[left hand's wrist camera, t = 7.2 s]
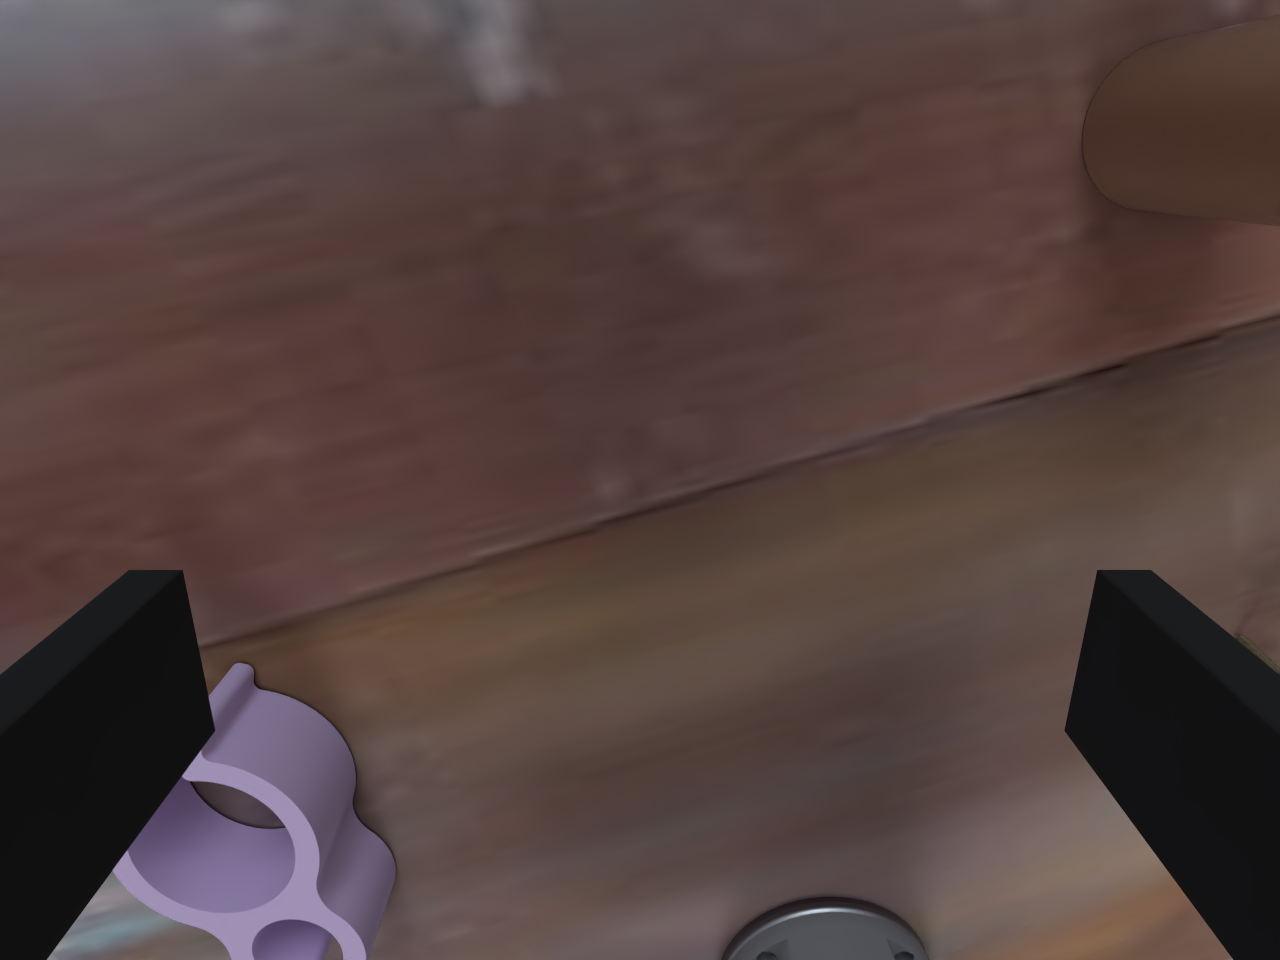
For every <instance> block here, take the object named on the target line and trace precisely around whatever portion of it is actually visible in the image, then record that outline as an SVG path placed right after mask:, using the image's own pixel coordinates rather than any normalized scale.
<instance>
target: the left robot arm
mask: <svg viewBox="0 0 1280 960" xmlns="http://www.w3.org/2000/svg"><path fill="white" fill-rule="evenodd" d="M214 732H215V726H214V721H213V716H212V711H211V706H210V702H209V697H208V692H207V687H206V682H205V677H204V672H203V667H202V662H201V658H200V653H199V648H198V643H197V638H196V633H195V628H194V623H193V619H192V614H191V609H190V604H189V599H188V594H187V589H186V584H185V580H184V575H183V570H129V571H127V572H126V573H125V574H124V575H123V576H121V577H120V578H119V579H118V580H116V581H115V582H114V583H113V584H111V585H110V586H109V587H108V588H107V589H105V590H104V591H103V592H102V593H100V594H99V595H98V596H97V597H95V598H94V599H93V600H92V601H91V602H89V603H88V604H87V605H86V606H84V607H83V608H82V609H81V610H79V611H78V612H77V613H76V614H75V615H73V616H72V617H71V618H70V619H68V620H67V621H66V622H65V623H63V624H62V625H61V626H60V627H59V628H57V629H56V630H55V631H54V632H52V633H51V634H50V635H49V636H47V637H46V638H45V639H44V640H43V641H41V642H40V643H39V644H38V645H36V646H35V647H34V648H33V649H31V650H30V651H29V652H28V653H27V654H25V655H24V656H23V657H22V658H20V659H19V660H18V661H17V662H15V663H14V664H13V665H12V666H10V667H9V668H8V669H7V670H6V671H4V672H3V673H2V674H1V675H0V960H47V958H48V957H49V956H50V954H51V953H52V952H53V950H54V949H55V948H56V946H57V945H58V943H59V942H60V941H61V939H62V938H63V937H64V935H65V934H66V933H67V931H68V930H69V929H70V927H71V926H72V924H73V923H74V922H75V920H76V919H77V918H78V916H79V915H80V914H81V912H82V911H83V910H84V908H85V907H86V905H87V904H88V903H89V901H90V900H91V899H92V897H93V896H94V895H95V893H96V892H97V891H98V889H99V888H100V887H101V885H102V884H103V882H104V881H105V880H106V878H107V877H108V876H109V874H110V873H111V872H112V870H113V869H114V868H115V866H116V865H117V863H118V862H119V861H120V859H121V858H122V857H123V855H124V854H125V853H126V851H127V850H128V849H129V847H130V846H131V844H132V843H133V842H134V840H135V839H136V838H137V836H138V835H139V834H140V832H141V831H142V830H143V828H144V827H145V826H146V824H147V823H148V821H149V820H150V819H151V817H152V816H153V815H154V813H155V812H156V811H157V809H158V808H159V807H160V805H161V804H162V802H163V801H164V800H165V798H166V797H167V796H168V794H169V793H170V792H171V790H172V789H173V788H174V786H175V785H176V783H177V782H178V781H179V779H180V778H181V777H182V775H183V774H184V773H185V771H186V770H187V769H188V767H189V766H190V765H191V763H192V762H193V760H194V759H195V758H196V756H197V755H198V754H199V752H200V751H201V750H202V748H203V747H204V746H205V744H206V743H207V741H208V740H209V739H210V737H211V736H212V735H213V733H214ZM1065 732H1066V733H1067V735H1068V736H1069V737H1070V739H1071V740H1072V741H1073V743H1074V744H1075V746H1076V747H1077V748H1078V750H1079V751H1080V752H1081V754H1082V755H1083V756H1084V758H1085V759H1086V760H1087V762H1088V763H1089V765H1090V766H1091V767H1092V769H1093V770H1094V771H1095V773H1096V774H1097V775H1098V777H1099V778H1100V779H1101V781H1102V782H1103V784H1104V785H1105V786H1106V788H1107V789H1108V790H1109V792H1110V793H1111V794H1112V796H1113V797H1114V798H1115V800H1116V801H1117V802H1118V804H1119V805H1120V807H1121V808H1122V809H1123V811H1124V812H1125V813H1126V815H1127V816H1128V817H1129V819H1130V820H1131V821H1132V823H1133V824H1134V826H1135V827H1136V828H1137V830H1138V831H1139V832H1140V834H1141V835H1142V836H1143V838H1144V839H1145V840H1146V842H1147V843H1148V845H1149V846H1150V847H1151V849H1152V850H1153V851H1154V853H1155V854H1156V855H1157V857H1158V858H1159V859H1160V861H1161V862H1162V863H1163V865H1164V866H1165V868H1166V869H1167V870H1168V872H1169V873H1170V874H1171V876H1172V877H1173V878H1174V880H1175V881H1176V882H1177V884H1178V885H1179V887H1180V888H1181V889H1182V891H1183V892H1184V893H1185V895H1186V896H1187V897H1188V899H1189V900H1190V901H1191V903H1192V904H1193V906H1194V907H1195V908H1196V910H1197V911H1198V912H1199V914H1200V915H1201V916H1202V918H1203V919H1204V920H1205V922H1206V923H1207V924H1208V926H1209V927H1210V929H1211V930H1212V931H1213V933H1214V934H1215V935H1216V937H1217V938H1218V939H1219V941H1220V942H1221V943H1222V945H1223V946H1224V948H1225V949H1226V950H1227V952H1228V953H1229V954H1230V956H1231V957H1232V958H1233V960H1280V675H1279V674H1278V673H1277V672H1276V671H1274V670H1273V669H1272V668H1271V667H1269V666H1268V665H1267V664H1266V663H1265V662H1263V661H1262V660H1261V659H1260V658H1258V657H1257V656H1256V655H1255V654H1253V653H1252V652H1251V651H1250V650H1249V649H1247V648H1246V647H1245V646H1244V645H1242V644H1241V643H1240V642H1239V641H1237V640H1236V639H1235V638H1234V637H1233V636H1231V635H1230V634H1229V633H1228V632H1226V631H1225V630H1224V629H1223V628H1221V627H1220V626H1219V625H1218V624H1217V623H1215V622H1214V621H1213V620H1212V619H1210V618H1209V617H1208V616H1207V615H1205V614H1204V613H1203V612H1202V611H1201V610H1199V609H1198V608H1197V607H1196V606H1194V605H1193V604H1192V603H1191V602H1189V601H1188V600H1187V599H1186V598H1185V597H1183V596H1182V595H1181V594H1180V593H1178V592H1177V591H1176V590H1175V589H1173V588H1172V587H1171V586H1170V585H1169V584H1167V583H1166V582H1165V581H1164V580H1162V579H1161V578H1160V577H1159V576H1157V575H1156V574H1155V573H1154V572H1153V571H1151V570H1097V575H1096V580H1095V584H1094V589H1093V594H1092V599H1091V604H1090V609H1089V614H1088V619H1087V623H1086V628H1085V633H1084V638H1083V643H1082V648H1081V653H1080V658H1079V662H1078V667H1077V672H1076V677H1075V682H1074V687H1073V692H1072V697H1071V702H1070V706H1069V711H1068V716H1067V721H1066V726H1065ZM722 960H929V959H928V956H927V954H926V951H925V948H924V946H923V944H922V942H921V940H920V938H919V937H918V935H917V934H916V932H915V931H914V930H913V929H912V928H911V927H910V926H909V925H908V924H907V923H906V922H905V921H904V920H903V919H901V918H900V917H899V916H897V915H896V914H894V913H892V912H891V911H889V910H887V909H885V908H883V907H880V906H878V905H875V904H872V903H869V902H866V901H862V900H857V899H851V898H843V897H819V898H810V899H805V900H799V901H795V902H792V903H788V904H785V905H782V906H780V907H777V908H775V909H773V910H770V911H768V912H767V913H765V914H763V915H761V916H759V917H758V918H756V919H755V920H753V921H752V922H751V923H749V924H748V925H747V926H746V927H744V928H743V929H742V930H741V931H740V932H739V933H738V934H737V935H736V937H735V938H734V939H733V940H732V942H731V943H730V945H729V946H728V947H727V949H726V951H725V953H724V955H723V958H722Z"/></svg>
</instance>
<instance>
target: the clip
mask: <svg viewBox="0 0 1280 960" xmlns="http://www.w3.org/2000/svg"><path fill="white" fill-rule="evenodd" d="M209 702H210V706H211V711H212V716H213V721H214V726H215V732H214V733H213V735H212V736H211V737H210V739H209V740H208V741H207V743H206V744H205V746H204V747H203V748H202V750H201V751H200V752H199V754H198V755H197V756H196V758H195V759H194V760H193V762H192V763H191V765H190V766H189V767H188V769H187V770H186V771H185V773H184V774H183V775H182V777H181V778H180V779H179V781H178V782H177V783H176V785H175V786H174V788H173V789H172V790H171V792H170V793H169V794H168V796H167V797H166V798H165V800H164V801H163V802H162V804H161V805H160V807H159V808H158V809H157V811H156V812H155V813H154V815H153V816H152V817H151V819H150V820H149V821H148V823H147V824H146V826H145V827H144V828H143V830H142V831H141V832H140V834H139V835H138V836H137V838H136V839H135V840H134V842H133V843H132V844H131V846H130V847H129V849H128V850H127V851H126V853H125V854H124V855H123V857H122V858H121V859H120V861H119V862H118V863H117V865H116V866H115V868H114V869H113V872H114V873H115V875H116V876H117V878H118V879H119V880H120V882H121V883H122V884H123V885H124V886H125V887H126V888H127V889H128V890H129V891H130V892H131V893H132V894H133V895H134V896H135V897H136V898H137V899H139V900H140V901H141V902H143V903H144V904H145V905H147V906H148V907H150V908H152V909H153V910H155V911H157V912H158V913H160V914H162V915H164V916H166V917H169V918H171V919H173V920H176V921H178V922H181V923H184V924H188V925H191V926H195V927H198V928H201V929H203V930H205V931H207V932H209V933H211V934H213V935H214V936H215V937H217V938H218V939H219V940H220V941H221V942H222V943H223V944H224V945H225V946H226V948H227V950H228V951H229V954H230V956H231V959H232V960H324V959H325V956H326V954H327V951H328V948H329V946H330V943H331V941H332V938H333V936H334V937H335V938H336V939H337V941H338V942H339V944H340V946H341V948H342V951H343V960H368V958H369V955H370V952H371V949H372V946H373V943H374V940H375V937H376V934H377V932H378V929H379V926H380V923H381V920H382V917H383V914H384V911H385V908H386V905H387V902H388V899H389V896H390V893H391V890H392V887H393V884H394V881H395V876H396V866H395V862H394V858H393V856H392V854H391V852H390V850H389V849H388V847H387V846H386V844H385V843H384V842H383V841H382V840H381V839H380V838H379V837H378V836H377V835H375V834H374V833H373V832H371V831H370V830H368V829H367V828H366V827H365V826H364V825H363V824H362V823H361V822H360V821H359V820H358V818H357V816H356V814H355V812H354V809H353V796H354V792H355V786H356V772H355V766H354V762H353V758H352V755H351V753H350V750H349V748H348V746H347V744H346V743H345V741H344V739H343V738H342V736H341V735H340V734H339V732H338V731H337V730H336V729H335V728H334V727H333V726H332V724H331V723H330V722H329V721H327V720H326V719H325V718H324V717H323V716H322V715H320V714H319V713H318V712H316V711H315V710H313V709H312V708H310V707H309V706H307V705H305V704H303V703H301V702H299V701H297V700H295V699H293V698H290V697H288V696H285V695H282V694H278V693H275V692H270V691H265V690H260V689H258V688H257V687H256V686H255V685H254V670H253V668H252V667H251V666H250V665H248V664H243V663H237V664H234V665H233V666H232V668H231V669H230V670H229V671H228V673H227V674H226V675H225V676H224V678H223V679H222V680H221V681H220V683H219V684H218V685H217V686H216V688H215V689H214V690H213V692H212V693H211V694H210V695H209ZM190 781H206V782H214V783H219V784H223V785H227V786H230V787H234V788H236V789H239V790H241V791H243V792H246V793H248V794H249V795H251V796H253V797H255V798H256V799H258V800H260V801H261V802H262V803H264V804H265V805H266V806H268V807H269V808H270V809H271V810H272V811H273V812H274V813H275V814H276V815H277V816H278V817H279V818H280V820H281V821H282V822H283V824H284V825H285V826H286V828H280V829H262V828H254V827H249V826H246V825H242V824H239V823H236V822H234V821H232V820H229V819H227V818H225V817H224V816H222V815H220V814H219V813H217V812H216V811H214V810H213V809H212V808H210V807H209V806H208V805H207V804H206V803H205V802H204V801H203V800H202V799H201V798H200V797H199V796H198V794H197V793H196V792H195V790H194V789H193V787H192V785H191V783H190Z"/></svg>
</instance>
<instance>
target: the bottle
mask: <svg viewBox="0 0 1280 960" xmlns="http://www.w3.org/2000/svg"><path fill="white" fill-rule="evenodd" d="M1082 148H1083V157H1084V161H1085V165H1086V168H1087V171H1088V173H1089V176H1090V178H1091V179H1092V181H1093V183H1094V184H1095V186H1096V187H1097V188H1098V189H1099V191H1100V192H1101V193H1102V194H1103V195H1104V196H1105V197H1107V198H1108V199H1109V200H1111V201H1112V202H1114V203H1115V204H1118V205H1120V206H1122V207H1124V208H1128V209H1131V210H1137V211H1145V212H1154V213H1163V214H1172V215H1181V216H1190V217H1199V218H1208V219H1217V220H1226V221H1235V222H1244V223H1253V224H1262V225H1271V226H1280V15H1275V16H1271V17H1266V18H1262V19H1257V20H1253V21H1248V22H1244V23H1239V24H1234V25H1230V26H1225V27H1221V28H1216V29H1212V30H1207V31H1203V32H1198V33H1194V34H1189V35H1184V36H1180V37H1175V38H1171V39H1166V40H1162V41H1159V42H1155V43H1152V44H1150V45H1148V46H1145V47H1143V48H1141V49H1139V50H1138V51H1136V52H1134V53H1133V54H1131V55H1130V56H1128V57H1127V58H1126V59H1124V60H1123V61H1122V62H1121V63H1120V64H1119V65H1118V66H1116V67H1115V68H1114V69H1113V70H1112V72H1111V73H1110V74H1109V75H1108V76H1107V77H1106V79H1105V80H1104V81H1103V83H1102V84H1101V86H1100V87H1099V89H1098V90H1097V92H1096V94H1095V96H1094V98H1093V100H1092V102H1091V104H1090V107H1089V109H1088V112H1087V115H1086V119H1085V122H1084V129H1083V138H1082Z"/></svg>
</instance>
